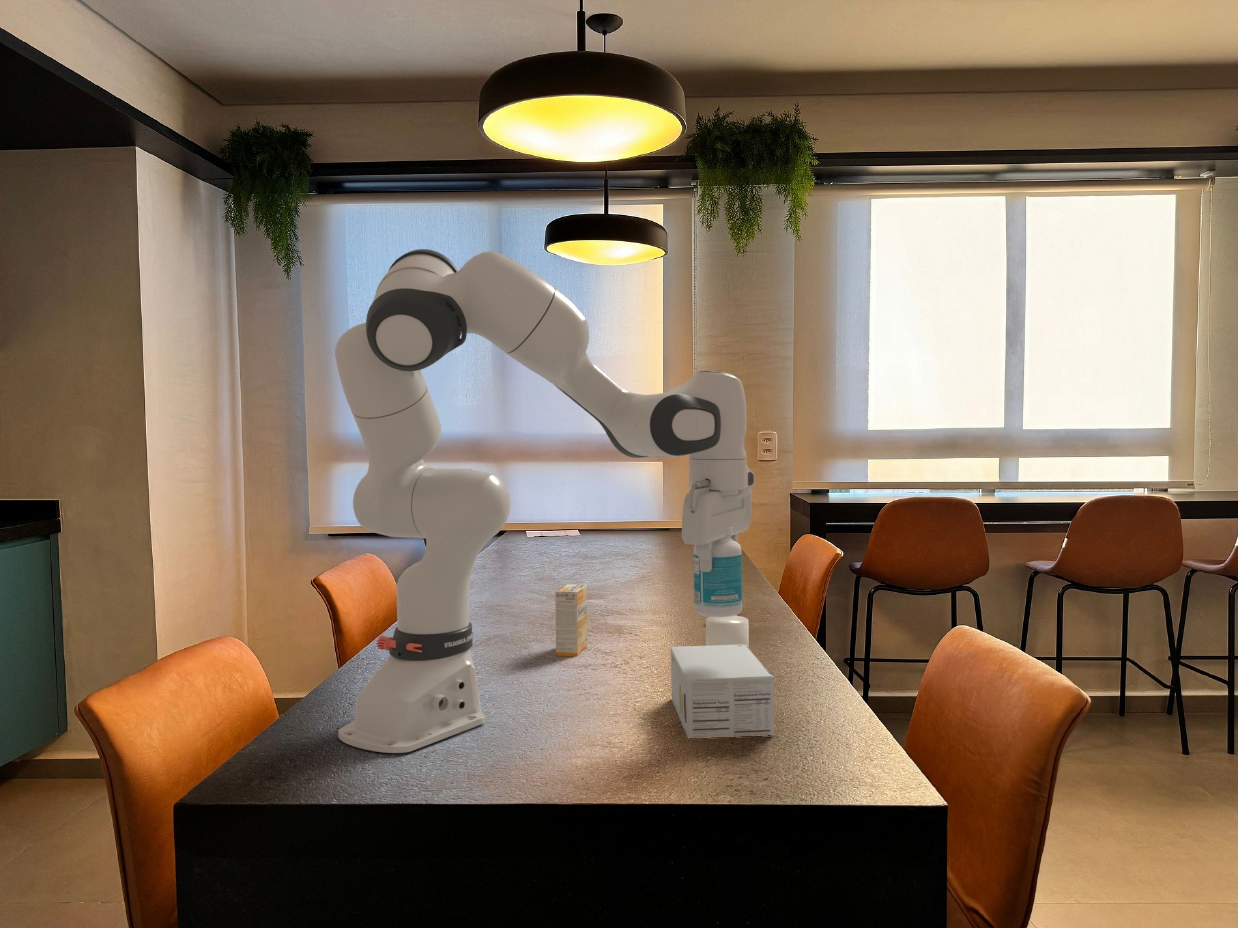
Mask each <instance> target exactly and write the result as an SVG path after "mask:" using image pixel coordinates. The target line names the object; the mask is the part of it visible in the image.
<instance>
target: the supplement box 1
mask: <svg viewBox="0 0 1238 928" xmlns="http://www.w3.org/2000/svg"><path fill="white" fill-rule="evenodd" d="M554 594H555V595H554V596H555V597H554V598H555V656H557V657H578V656H579V655H580V654H581V653H582V652H583V650H584V649H585V648H587V646H588V600H587V599H588V585H587V584H577V583H575V584H572V583H571V584H564V586H562V587H560V588H558V589H557V590H556V591H555V593H554Z"/></svg>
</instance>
